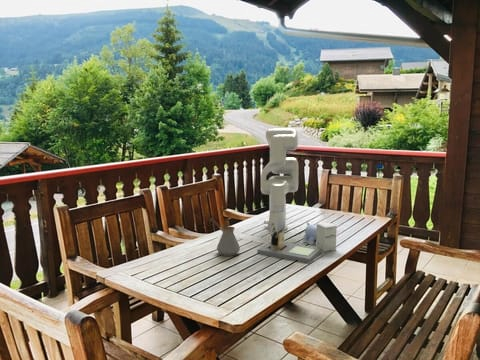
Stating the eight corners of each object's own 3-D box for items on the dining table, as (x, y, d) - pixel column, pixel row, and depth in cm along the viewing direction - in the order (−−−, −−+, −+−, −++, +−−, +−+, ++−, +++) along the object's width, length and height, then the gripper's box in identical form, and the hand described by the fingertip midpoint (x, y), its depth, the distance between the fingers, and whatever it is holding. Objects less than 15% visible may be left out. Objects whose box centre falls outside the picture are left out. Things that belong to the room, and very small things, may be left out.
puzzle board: (257, 253, 204) (257, 248, 203) (271, 244, 217) (271, 240, 217) (309, 263, 190) (309, 258, 190) (321, 252, 204) (321, 248, 203)
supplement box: (324, 252, 205) (324, 227, 203) (315, 247, 211) (316, 223, 209) (336, 249, 208) (337, 225, 206) (327, 245, 214) (328, 221, 212)
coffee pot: (244, 254, 203) (244, 224, 200) (225, 259, 196) (224, 228, 194) (220, 243, 220) (220, 215, 217) (202, 247, 213) (201, 219, 211)
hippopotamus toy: (316, 247, 212) (317, 229, 210) (298, 239, 225) (298, 222, 223) (332, 243, 217) (333, 226, 216) (313, 236, 230) (314, 219, 228)
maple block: (270, 248, 206) (270, 232, 205) (275, 245, 210) (275, 229, 209) (279, 249, 204) (279, 234, 202) (283, 246, 208) (284, 231, 206)
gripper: (278, 203, 212) (277, 237, 216) (262, 211, 198) (262, 247, 201) (291, 205, 209) (291, 239, 212) (276, 212, 194) (276, 249, 198)
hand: (277, 242), depth 207 cm, fingers closed on maple block, 5 cm apart
